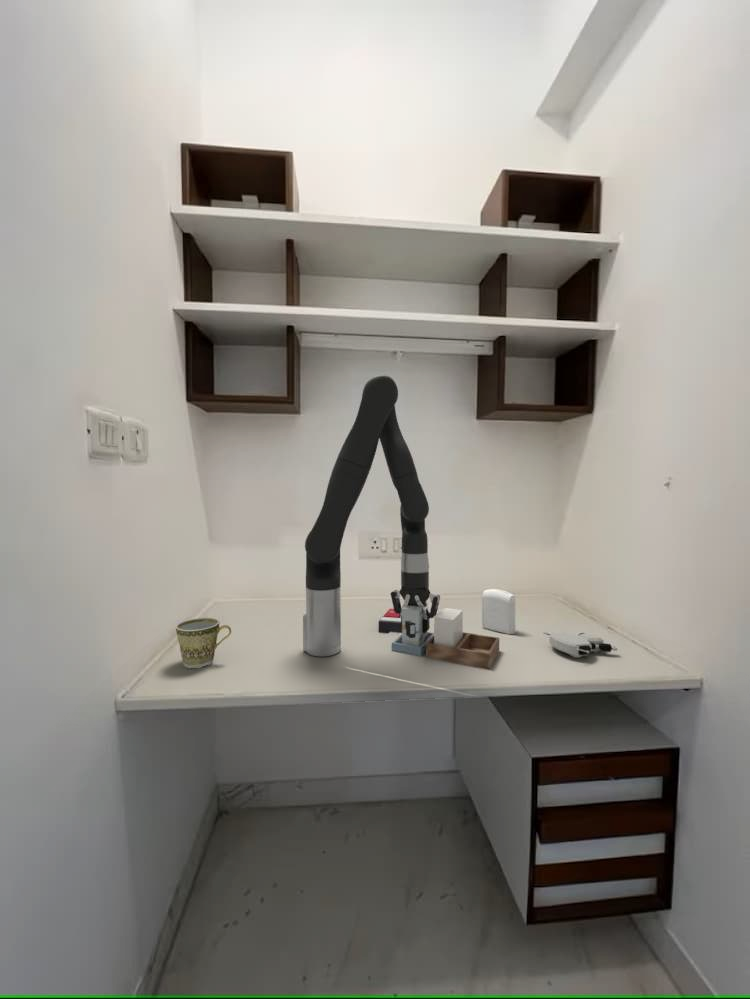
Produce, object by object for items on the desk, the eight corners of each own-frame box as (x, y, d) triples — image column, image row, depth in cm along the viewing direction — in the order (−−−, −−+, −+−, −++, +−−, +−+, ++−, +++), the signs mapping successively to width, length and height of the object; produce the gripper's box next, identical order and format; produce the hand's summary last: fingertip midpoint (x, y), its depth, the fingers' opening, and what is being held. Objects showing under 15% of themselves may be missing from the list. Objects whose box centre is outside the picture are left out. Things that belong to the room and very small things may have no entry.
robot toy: (583, 643, 121) (539, 646, 116) (584, 628, 121) (541, 629, 116) (620, 660, 109) (573, 664, 104) (621, 643, 109) (575, 645, 104)
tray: (391, 652, 112) (391, 642, 112) (408, 637, 123) (408, 628, 123) (420, 657, 109) (420, 648, 108) (436, 642, 119) (436, 633, 119)
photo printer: (479, 627, 131) (480, 588, 131) (487, 624, 134) (487, 585, 134) (510, 636, 124) (510, 594, 124) (517, 632, 127) (517, 591, 127)
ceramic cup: (169, 672, 100) (169, 630, 100) (185, 655, 110) (185, 617, 110) (225, 671, 101) (225, 629, 101) (236, 654, 111) (236, 616, 111)
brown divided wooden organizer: (426, 658, 108) (426, 643, 108) (440, 642, 119) (440, 628, 119) (489, 671, 101) (489, 654, 101) (499, 652, 112) (499, 637, 112)
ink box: (411, 640, 121) (411, 599, 120) (428, 643, 119) (428, 601, 118) (401, 651, 113) (401, 607, 112) (418, 654, 111) (418, 609, 110)
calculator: (421, 609, 139) (414, 621, 125) (421, 622, 139) (414, 636, 125) (388, 607, 142) (378, 618, 128) (388, 620, 142) (378, 633, 127)
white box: (434, 655, 109) (434, 617, 108) (444, 643, 117) (444, 607, 116) (453, 659, 106) (453, 619, 106) (462, 646, 114) (462, 610, 114)
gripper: (385, 569, 115) (385, 631, 116) (435, 573, 109) (436, 639, 109) (396, 564, 122) (396, 623, 122) (444, 568, 115) (444, 630, 116)
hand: (415, 630), depth 116 cm, fingers closed on ink box, 5 cm apart
